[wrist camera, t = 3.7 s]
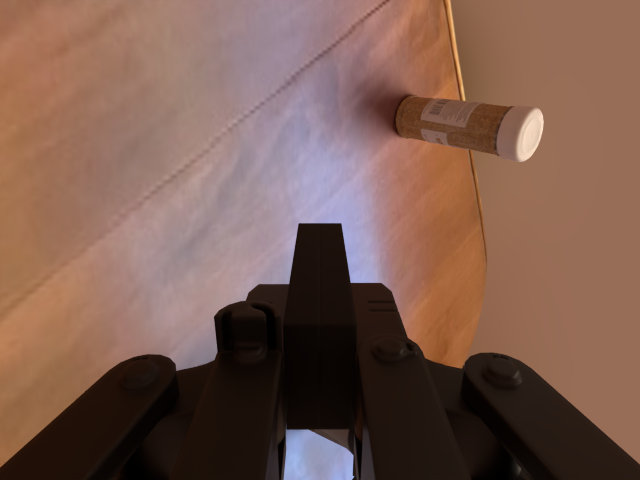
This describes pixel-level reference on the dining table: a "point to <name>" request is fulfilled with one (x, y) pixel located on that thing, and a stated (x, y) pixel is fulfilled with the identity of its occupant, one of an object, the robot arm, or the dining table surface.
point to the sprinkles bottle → (472, 125)
